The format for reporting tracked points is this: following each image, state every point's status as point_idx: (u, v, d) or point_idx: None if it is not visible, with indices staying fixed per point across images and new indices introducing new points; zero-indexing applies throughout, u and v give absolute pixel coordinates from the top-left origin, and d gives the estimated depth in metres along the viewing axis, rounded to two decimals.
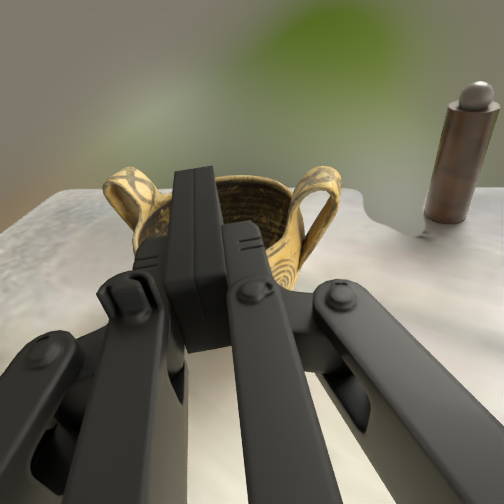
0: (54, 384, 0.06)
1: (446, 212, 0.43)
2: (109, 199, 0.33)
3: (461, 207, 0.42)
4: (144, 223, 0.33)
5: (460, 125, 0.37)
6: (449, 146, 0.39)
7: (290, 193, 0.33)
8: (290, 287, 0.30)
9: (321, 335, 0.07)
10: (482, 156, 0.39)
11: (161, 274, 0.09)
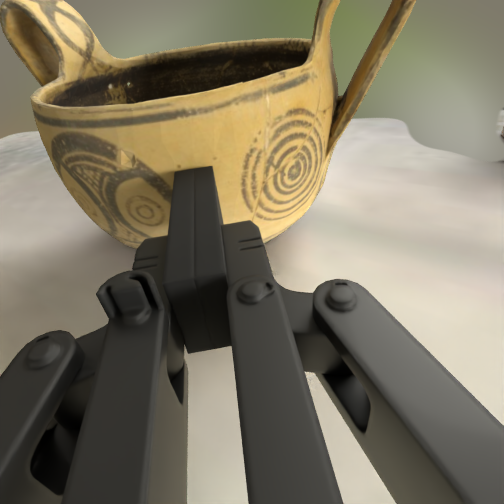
0: (54, 384, 0.06)
1: None
2: (14, 44, 0.20)
3: None
4: (69, 83, 0.20)
5: None
6: None
7: None
8: (313, 181, 0.17)
9: (322, 336, 0.07)
10: None
11: (161, 274, 0.09)
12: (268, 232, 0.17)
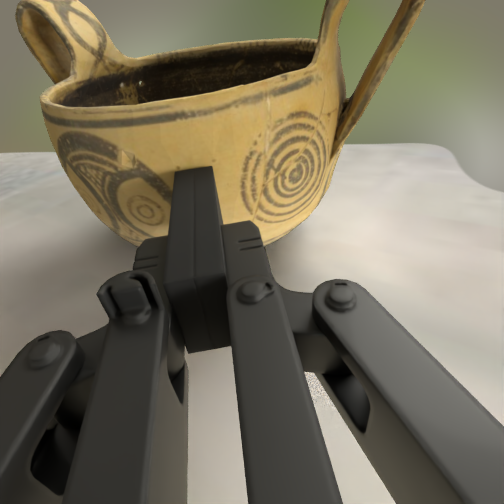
0: (54, 384, 0.06)
1: None
2: (29, 43, 0.20)
3: None
4: (81, 82, 0.20)
5: None
6: None
7: None
8: (316, 184, 0.17)
9: (321, 336, 0.07)
10: None
11: (162, 274, 0.09)
12: (269, 234, 0.17)
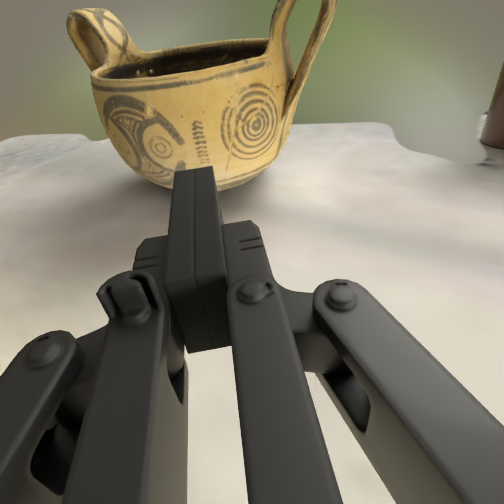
0: (54, 384, 0.06)
1: None
2: (74, 41, 0.29)
3: None
4: (111, 68, 0.28)
5: None
6: None
7: None
8: (271, 134, 0.25)
9: (322, 336, 0.07)
10: None
11: (161, 274, 0.09)
12: (242, 169, 0.26)
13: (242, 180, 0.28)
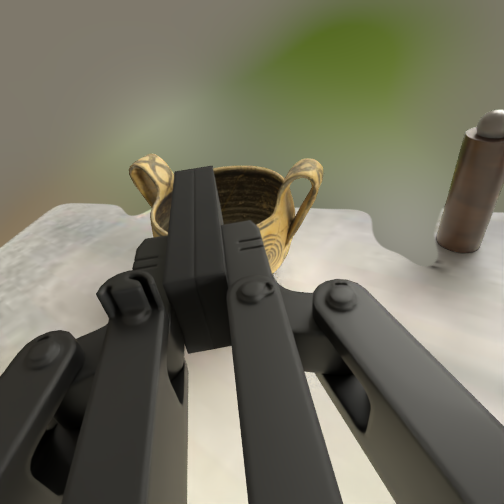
0: (54, 384, 0.06)
1: (460, 241, 0.41)
2: (134, 180, 0.40)
3: (476, 236, 0.41)
4: (161, 201, 0.39)
5: (478, 155, 0.35)
6: (465, 175, 0.37)
7: None
8: (277, 259, 0.36)
9: (321, 335, 0.07)
10: (500, 186, 0.37)
11: (161, 274, 0.09)
12: None
13: None
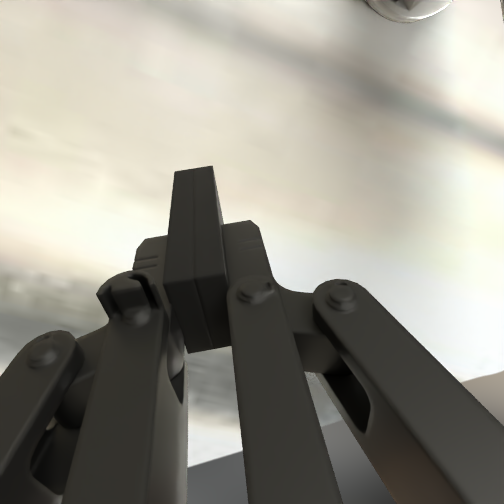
0: (54, 384, 0.06)
1: None
2: None
3: None
4: None
5: None
6: None
7: None
8: None
9: (322, 336, 0.07)
10: None
11: (161, 274, 0.09)
12: None
13: None
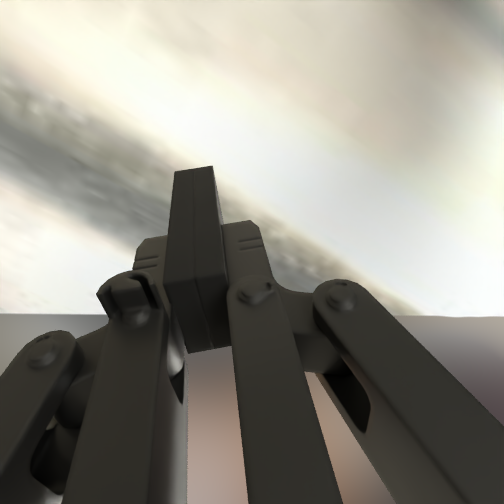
0: (54, 384, 0.06)
1: None
2: None
3: None
4: None
5: None
6: None
7: None
8: None
9: (322, 336, 0.07)
10: None
11: (162, 274, 0.09)
12: None
13: None
